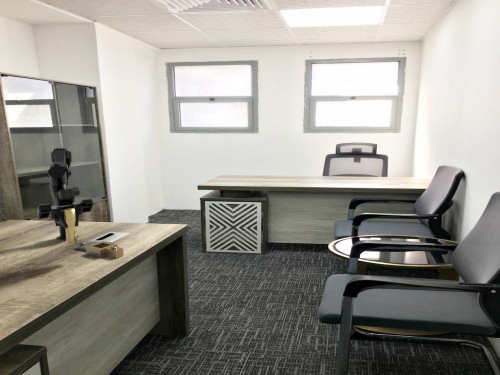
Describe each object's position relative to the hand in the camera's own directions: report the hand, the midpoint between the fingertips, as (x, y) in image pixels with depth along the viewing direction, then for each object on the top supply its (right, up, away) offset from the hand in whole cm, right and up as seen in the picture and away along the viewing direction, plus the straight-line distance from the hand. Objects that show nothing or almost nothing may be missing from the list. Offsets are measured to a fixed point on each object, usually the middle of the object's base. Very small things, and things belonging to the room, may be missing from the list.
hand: (71, 227), depth 136 cm
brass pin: (-1, -6, +2) cm, 7 cm away
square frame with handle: (+5, -11, +13) cm, 18 cm away
